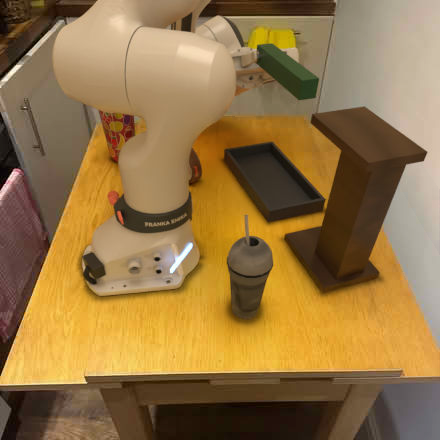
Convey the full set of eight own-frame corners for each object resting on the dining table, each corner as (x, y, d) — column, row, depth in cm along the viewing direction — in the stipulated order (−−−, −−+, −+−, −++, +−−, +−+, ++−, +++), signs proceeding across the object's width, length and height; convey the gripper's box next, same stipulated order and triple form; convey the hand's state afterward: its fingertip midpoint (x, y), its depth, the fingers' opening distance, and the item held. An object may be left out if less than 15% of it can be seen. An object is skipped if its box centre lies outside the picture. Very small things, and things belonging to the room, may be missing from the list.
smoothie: (108, 149, 108) (93, 68, 93) (140, 148, 109) (130, 67, 94) (106, 166, 102) (89, 82, 88) (139, 165, 103) (128, 81, 88)
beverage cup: (262, 329, 69) (277, 236, 54) (220, 321, 69) (224, 228, 55) (268, 297, 73) (283, 205, 59) (228, 291, 74) (233, 198, 60)
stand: (322, 293, 75) (362, 164, 55) (284, 239, 85) (306, 114, 65) (377, 278, 78) (433, 150, 58) (334, 228, 88) (369, 105, 68)
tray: (268, 222, 88) (269, 210, 86) (223, 160, 106) (224, 149, 103) (323, 210, 92) (325, 199, 89) (271, 152, 109) (272, 141, 107)
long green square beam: (298, 100, 74) (302, 80, 72) (255, 62, 87) (256, 44, 84) (315, 98, 75) (319, 78, 73) (270, 61, 88) (272, 43, 85)
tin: (203, 186, 97) (203, 153, 91) (192, 190, 96) (191, 157, 90) (172, 158, 106) (169, 126, 99) (161, 161, 104) (158, 130, 98)
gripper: (200, 59, 93) (219, 41, 81) (281, 50, 98) (310, 32, 86) (205, 89, 95) (223, 76, 83) (283, 79, 100) (312, 66, 88)
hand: (268, 54), depth 84 cm, fingers closed on long green square beam, 3 cm apart
